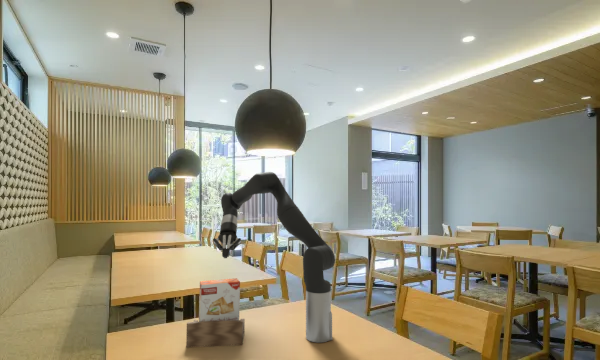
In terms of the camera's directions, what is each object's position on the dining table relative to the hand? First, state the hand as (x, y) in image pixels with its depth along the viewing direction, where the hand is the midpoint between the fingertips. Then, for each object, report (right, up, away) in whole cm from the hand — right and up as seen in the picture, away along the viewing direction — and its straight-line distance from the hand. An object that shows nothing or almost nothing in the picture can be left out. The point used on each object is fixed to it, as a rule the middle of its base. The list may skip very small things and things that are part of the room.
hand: (225, 257), depth 144 cm
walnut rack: (+2, -25, -22) cm, 33 cm away
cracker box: (+3, -25, -23) cm, 34 cm away
